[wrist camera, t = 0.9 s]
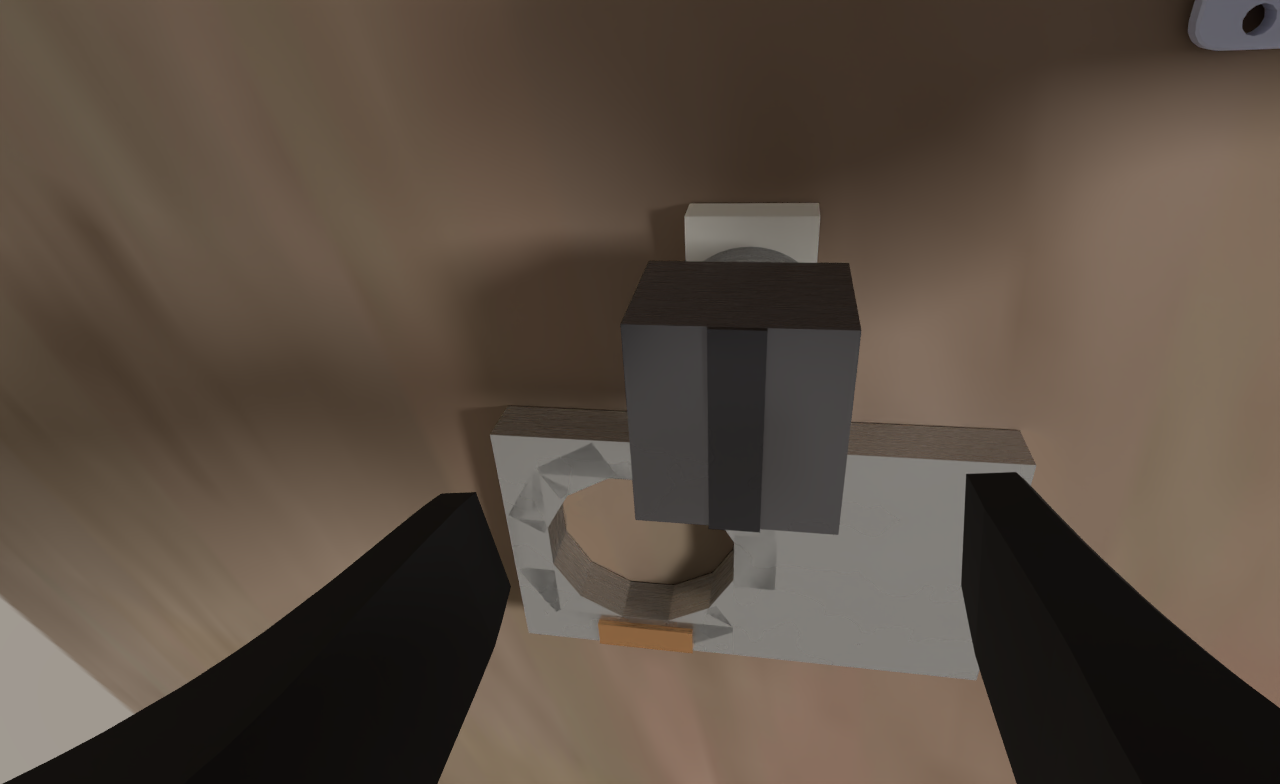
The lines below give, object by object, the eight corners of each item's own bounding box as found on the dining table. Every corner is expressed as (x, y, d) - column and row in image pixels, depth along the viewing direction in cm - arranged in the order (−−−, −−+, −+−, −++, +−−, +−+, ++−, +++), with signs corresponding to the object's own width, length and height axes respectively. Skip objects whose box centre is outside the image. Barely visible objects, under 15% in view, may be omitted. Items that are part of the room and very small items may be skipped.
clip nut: (842, 229, 16) (861, 333, 12) (827, 399, 18) (838, 538, 14) (663, 229, 17) (618, 327, 12) (669, 393, 19) (634, 523, 15)
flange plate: (1019, 430, 19) (1038, 470, 17) (966, 640, 23) (977, 685, 22) (507, 406, 21) (487, 439, 20) (541, 599, 25) (526, 637, 24)
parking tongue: (818, 202, 17) (820, 216, 16) (805, 388, 19) (806, 408, 19) (689, 203, 17) (684, 216, 16) (693, 383, 20) (689, 403, 19)
